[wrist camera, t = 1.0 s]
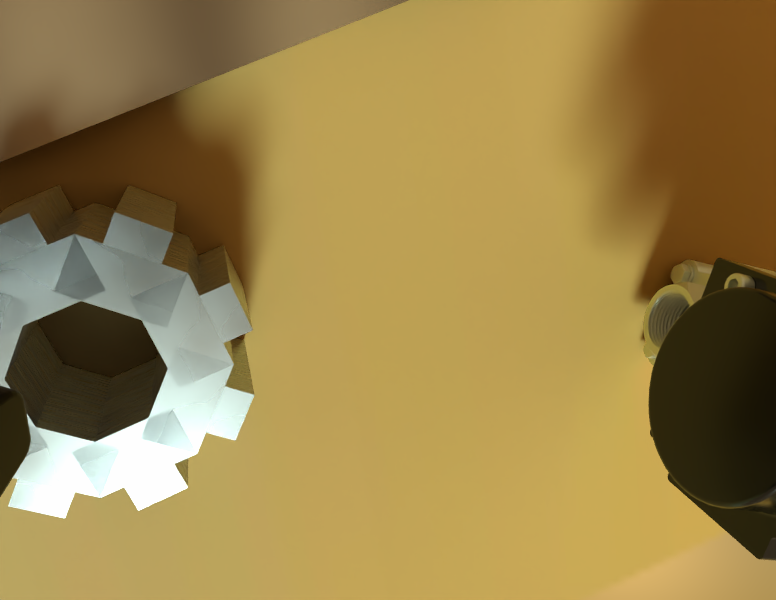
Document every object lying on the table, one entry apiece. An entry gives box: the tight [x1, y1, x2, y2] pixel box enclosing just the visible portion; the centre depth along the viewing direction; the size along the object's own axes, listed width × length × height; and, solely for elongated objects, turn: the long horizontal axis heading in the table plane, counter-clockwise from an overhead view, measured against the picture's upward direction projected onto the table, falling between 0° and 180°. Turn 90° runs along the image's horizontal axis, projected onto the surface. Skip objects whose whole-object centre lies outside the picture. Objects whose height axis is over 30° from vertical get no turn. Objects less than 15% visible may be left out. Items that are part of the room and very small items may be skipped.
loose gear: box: [0, 185, 254, 518], centre depth 17 cm, size 7×7×4 cm
